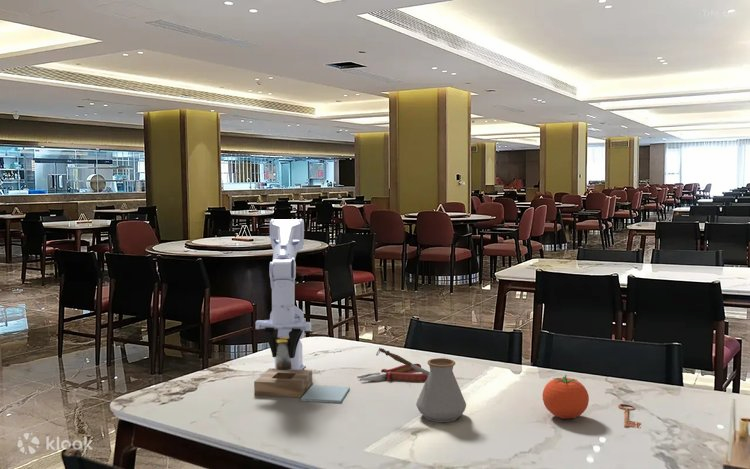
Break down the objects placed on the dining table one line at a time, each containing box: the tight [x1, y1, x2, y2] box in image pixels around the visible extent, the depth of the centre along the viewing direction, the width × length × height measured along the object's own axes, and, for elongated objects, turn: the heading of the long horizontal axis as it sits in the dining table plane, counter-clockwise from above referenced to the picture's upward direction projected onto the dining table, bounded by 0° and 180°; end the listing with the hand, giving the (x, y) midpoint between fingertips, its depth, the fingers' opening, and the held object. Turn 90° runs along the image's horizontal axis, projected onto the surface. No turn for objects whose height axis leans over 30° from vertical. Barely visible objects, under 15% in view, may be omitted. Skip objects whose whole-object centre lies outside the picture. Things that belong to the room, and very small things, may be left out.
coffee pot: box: [375, 347, 467, 423], centre depth 153 cm, size 21×12×15 cm, turn 72°
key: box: [618, 403, 642, 429], centre depth 152 cm, size 6×1×15 cm
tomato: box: [541, 374, 590, 420], centre depth 151 cm, size 10×10×10 cm
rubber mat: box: [300, 384, 351, 404], centre depth 168 cm, size 11×10×1 cm
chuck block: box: [253, 368, 313, 398], centre depth 172 cm, size 12×12×4 cm
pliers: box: [356, 363, 428, 383], centre depth 182 cm, size 12×20×3 cm, turn 108°
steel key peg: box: [275, 336, 292, 370], centre depth 172 cm, size 4×4×8 cm
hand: (283, 356), depth 172 cm, fingers closed on steel key peg, 4 cm apart
